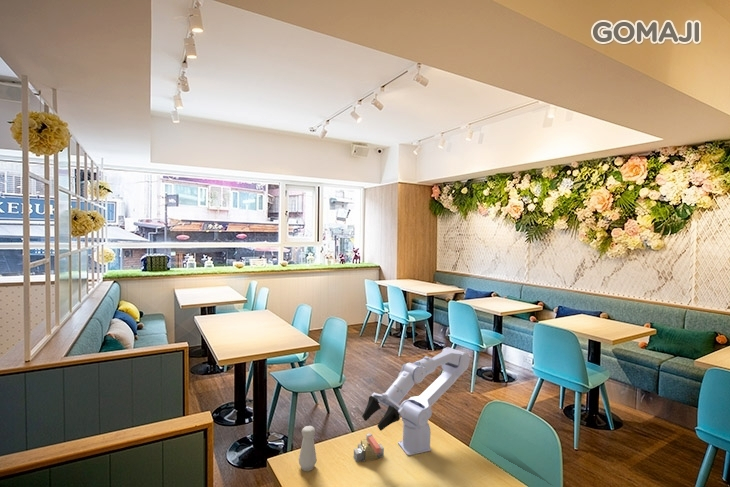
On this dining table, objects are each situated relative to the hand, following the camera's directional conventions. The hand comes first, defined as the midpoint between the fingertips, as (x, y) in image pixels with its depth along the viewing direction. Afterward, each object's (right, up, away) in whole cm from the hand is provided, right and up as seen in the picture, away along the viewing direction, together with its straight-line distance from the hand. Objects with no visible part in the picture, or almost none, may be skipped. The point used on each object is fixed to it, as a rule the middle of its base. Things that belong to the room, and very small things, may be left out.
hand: (371, 423), depth 117 cm
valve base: (-1, -15, +7) cm, 17 cm away
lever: (+1, -9, +4) cm, 10 cm away
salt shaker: (-21, -15, +1) cm, 25 cm away
